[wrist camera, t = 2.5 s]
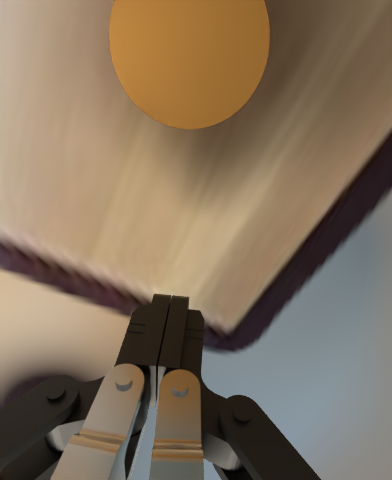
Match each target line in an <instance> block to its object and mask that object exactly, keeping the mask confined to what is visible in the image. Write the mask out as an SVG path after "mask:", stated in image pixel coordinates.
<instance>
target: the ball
mask: <svg viewBox="0 0 392 480" xmlns="http://www.w3.org/2000/svg"><path fill="white" fill-rule="evenodd" d="M109 44H110V52H111V57H112V61H113V65H114V68H115V71H116V74H117V76H118V78H119V80H120V83H121V85H122V86H123V88H124V90H125V91H126V93H127V94H128V96H129V97H130V98H131V99H132V101H133V102H134V103H135V104H136V105H137V106H138V107H139V108H140V109H141V110H142V111H143V112H145V113H146V114H147V115H148V116H150V117H151V118H153V119H155V120H156V121H158V122H161V123H163V124H165V125H168V126H171V127H175V128H181V129H199V128H205V127H209V126H212V125H215V124H217V123H220V122H222V121H224V120H225V119H227V118H229V117H230V116H232V115H233V114H234V113H236V112H237V111H238V110H239V109H240V108H241V107H242V106H243V105H244V104H245V103H246V102H247V101H248V100H249V98H250V97H251V96H252V94H253V93H254V91H255V89H256V88H257V86H258V84H259V82H260V80H261V78H262V75H263V73H264V70H265V67H266V63H267V58H268V54H269V45H270V26H269V18H268V13H267V9H266V5H265V2H264V0H114V3H113V7H112V11H111V16H110V25H109Z"/></svg>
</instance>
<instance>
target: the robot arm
mask: <svg viewBox="0 0 392 480" xmlns="http://www.w3.org/2000/svg"><path fill="white" fill-rule="evenodd" d="M188 307H189V297H183V296H174V295H173V296H172V299H171V295H163V294H154V296H153V299H152V303H151V306H149V305H140V306H139V307H138V308H137V309H136V310H135V311H134V312H133V313H132V316H131V319H130V322H129V326H128V328H127V332H126V335H125V338H124V340H123V343H122V346H121V349H120V352H119V355H118V358H117V361H116V364H115V366H114V367H113V368H112V369H110V370H109V371H108V372H107V374H106V375H105V376H104V377H102V378H100V379H97V380H94V381H89V382H84V383H79V384H77V382H76V380H75V379H74V378H72V377H70V376H67V375H57V376H53V377H51V378H49V379H47V380H45V381H44V382H42V383H41V384H39V385H37V386H36V387H34V388H33V389H32V390H30V391H28V392H27V393H25V394H24V395H22V396H20V397H19V398H18V399H16V400H14V401H13V402H11V403H10V404H8V405H7V406H5V407H4V408H2V409H0V480H47V479H48V478H49V477H50V476H51V475H52V478H51V480H130V478H131V475H132V472H133V468H134V464H135V461H136V457H137V454H138V450H139V446H140V443H141V439H142V436H143V432H144V429H145V422H146V419H147V414H148V409H149V406H153V407H155V406H156V401H157V397H158V409H157V419H156V428H155V438H154V446H153V450H152V457H151V467H150V477H149V480H204V469H203V468H204V467H203V458H204V459H206V460H208V461H210V462H212V463H213V465H214V468H215V470H216V471H217V473H218V474H219V476H220V478H221V479H222V480H321V479H320V478H319V477H318V476H317V474H316V473H315V472H314V471H313V469H312V468H311V467H310V466H309V465H308V464H307V462H306V461H305V460H304V459H303V458H302V457H301V455H300V454H299V453H298V452H297V451H296V449H295V448H294V447H293V446H292V445H291V443H290V442H289V441H288V440H287V439H286V438H285V436H284V435H283V434H282V433H281V432H280V430H279V429H278V428H277V427H276V426H275V424H274V423H273V422H272V421H271V420H270V419H269V418H268V416H267V415H266V414H265V413H264V411H263V410H262V409H261V408H260V407H259V406H258V404H257V403H256V402H255V401H253V400H252V399H251V398H249V397H246V396H243V395H234V396H231V397H229V398H227V399H226V398H224V397H222V396H220V395H217V394H215V393H213V392H212V391H210V390H209V389H208V388H207V387H206V385H205V384H204V382H203V380H202V378H201V363H202V349H203V334H204V318H203V316H202V314H201V311H199V310H189V309H188Z"/></svg>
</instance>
